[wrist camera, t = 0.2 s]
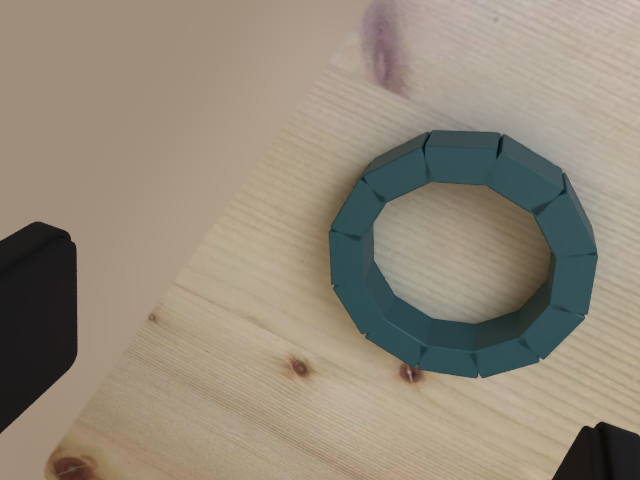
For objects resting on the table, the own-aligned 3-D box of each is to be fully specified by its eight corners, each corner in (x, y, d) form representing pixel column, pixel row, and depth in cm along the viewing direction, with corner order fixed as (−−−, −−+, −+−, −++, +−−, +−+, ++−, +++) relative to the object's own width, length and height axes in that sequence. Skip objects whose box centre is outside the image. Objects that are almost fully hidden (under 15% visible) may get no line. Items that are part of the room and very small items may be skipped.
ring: (301, 195, 31) (284, 214, 29) (520, 83, 25) (519, 96, 23) (411, 372, 33) (403, 401, 31) (631, 305, 28) (638, 334, 26)
